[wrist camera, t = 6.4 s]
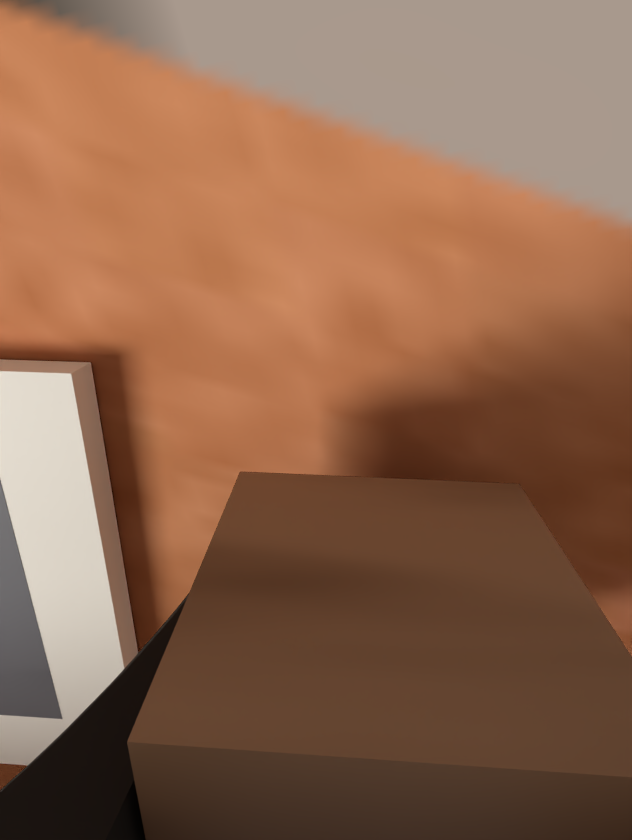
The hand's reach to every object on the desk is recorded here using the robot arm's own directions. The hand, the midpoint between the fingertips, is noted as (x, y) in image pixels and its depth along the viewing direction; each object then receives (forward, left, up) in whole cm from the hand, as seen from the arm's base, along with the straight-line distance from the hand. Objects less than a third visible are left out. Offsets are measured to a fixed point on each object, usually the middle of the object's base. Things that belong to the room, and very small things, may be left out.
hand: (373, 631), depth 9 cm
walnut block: (0, 0, -1) cm, 1 cm away
